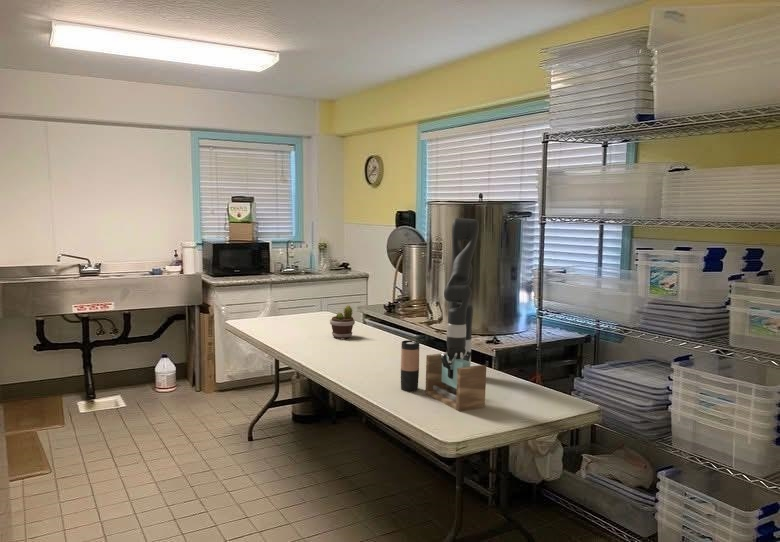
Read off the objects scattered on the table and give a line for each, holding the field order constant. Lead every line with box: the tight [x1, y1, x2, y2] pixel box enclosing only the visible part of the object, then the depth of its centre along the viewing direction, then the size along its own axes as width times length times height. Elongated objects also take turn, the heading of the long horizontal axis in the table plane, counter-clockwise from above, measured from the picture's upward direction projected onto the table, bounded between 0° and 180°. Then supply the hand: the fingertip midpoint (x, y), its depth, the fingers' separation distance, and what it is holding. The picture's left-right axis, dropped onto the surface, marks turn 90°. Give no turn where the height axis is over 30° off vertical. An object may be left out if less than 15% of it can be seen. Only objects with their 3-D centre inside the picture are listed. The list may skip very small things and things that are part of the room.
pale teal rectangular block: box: [441, 355, 471, 389], centre depth 233 cm, size 14×4×11 cm, turn 28°
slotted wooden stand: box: [424, 352, 487, 412], centre depth 233 cm, size 24×12×16 cm, turn 28°
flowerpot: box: [329, 304, 356, 340], centre depth 345 cm, size 14×15×20 cm
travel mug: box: [400, 339, 420, 393], centre depth 246 cm, size 8×8×20 cm
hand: (455, 377), depth 233 cm, fingers closed on pale teal rectangular block, 3 cm apart
